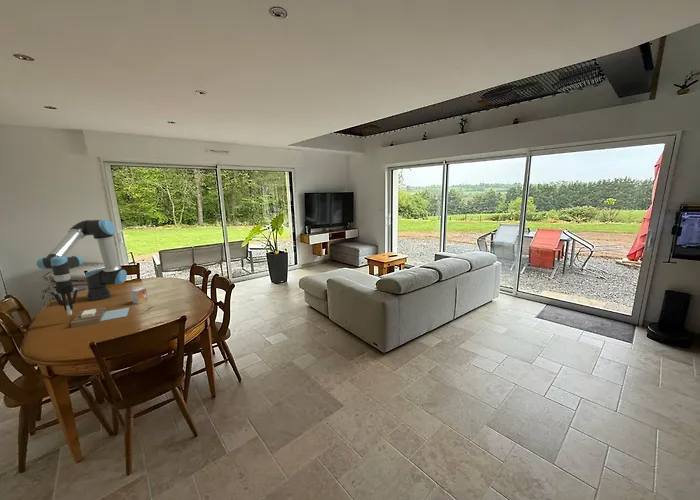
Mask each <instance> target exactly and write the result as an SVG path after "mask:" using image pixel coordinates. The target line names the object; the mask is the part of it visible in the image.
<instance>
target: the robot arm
mask: <svg viewBox="0 0 700 500" xmlns="http://www.w3.org/2000/svg"><path fill="white" fill-rule="evenodd" d="M115 232H116V227H115V224H114V223H113V222H112V221H111V220H108V219H90V220H89V219H85V220H82V221H79V222H77V223H76V224H74V225H72V226H71V227H70V228H69V229H68V230H67V234H66V235H65V236H64V238H62V239H61V241H59V243H58V244H57V245H56V246H55V247H54V248H53V249H52V250H51V251H50V253H48V255H47V256H46V257H40V258H38V259H37V260H36V266H37V267H38V269H41V270H52V274H53V279H54V281H55V282H54V284H55V290H53V291H52V292H50V294H51V295H52V296H53V297H54V298H55V300H56V301H57V303H58V305H59V306H63V307H64V308H63V309H64V311H66V313H67V315H68V316H71V315H72V314H73V309H74V304H76V302H77V296H78V292H79V290H80V288H76V287H74V286H73V282H72V277H71V272H70V271H71V269H73V268H78V267H80V266H82V265H83V263H84V260H83V257H82V256H79V255H72V256H67V255H68V254H69V253H70V251H71V250H72V249H73V248H74V247H75V246H76V244H78V243H79V242H80V240H81V239H84V238H85V237H86V236H93V239H94V240H96V241H97V244H98V247H99V250H100V254H101V259H102V262H103V266H104V268H97V269H93V270H89V271H87V272H85V282H86V285H87V293H86V299H87V301H98V300H103V299H106V298H109V297H111V296H112V292H111V291H110V289H109V288H108V285H109V286H110V285H122V284H124V283H125V282H126V280H127V277H128V275H127V271H126V270H125V269H122V266H121V265H119V263H118V258H117V255H116V251H115V248H114V243H113V240H112V238H113V237H114V234H115ZM72 292H73V297H72ZM59 294H60V296H61V297H60V296H59Z"/></svg>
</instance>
